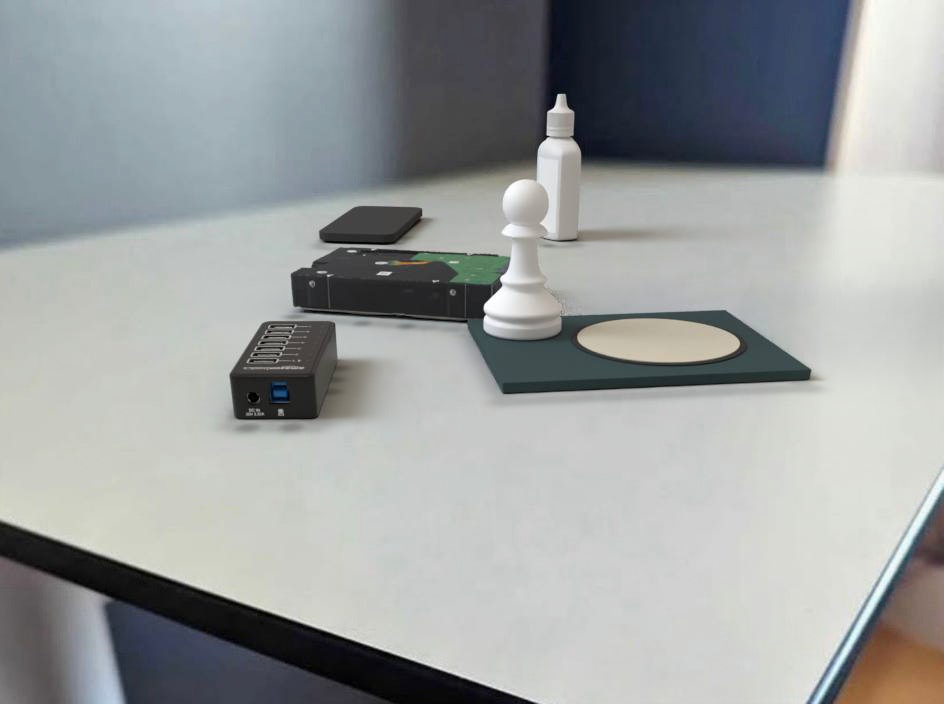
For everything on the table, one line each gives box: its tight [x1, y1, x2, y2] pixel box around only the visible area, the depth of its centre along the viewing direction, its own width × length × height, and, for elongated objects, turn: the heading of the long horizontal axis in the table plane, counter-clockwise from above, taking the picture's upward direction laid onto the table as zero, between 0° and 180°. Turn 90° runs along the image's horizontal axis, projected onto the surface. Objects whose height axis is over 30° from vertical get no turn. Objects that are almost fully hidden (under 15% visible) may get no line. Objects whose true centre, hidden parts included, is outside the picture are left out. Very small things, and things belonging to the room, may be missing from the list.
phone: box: [318, 205, 423, 243], centre depth 100 cm, size 7×1×15 cm
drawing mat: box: [467, 309, 812, 394], centre depth 64 cm, size 18×14×1 cm
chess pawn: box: [484, 178, 563, 341], centre depth 64 cm, size 5×5×9 cm
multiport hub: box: [228, 320, 339, 419], centre depth 58 cm, size 4×11×2 cm, turn 0°
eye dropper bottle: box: [536, 93, 582, 241], centre depth 95 cm, size 4×6×12 cm
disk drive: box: [290, 246, 511, 322], centre depth 75 cm, size 10×3×15 cm
